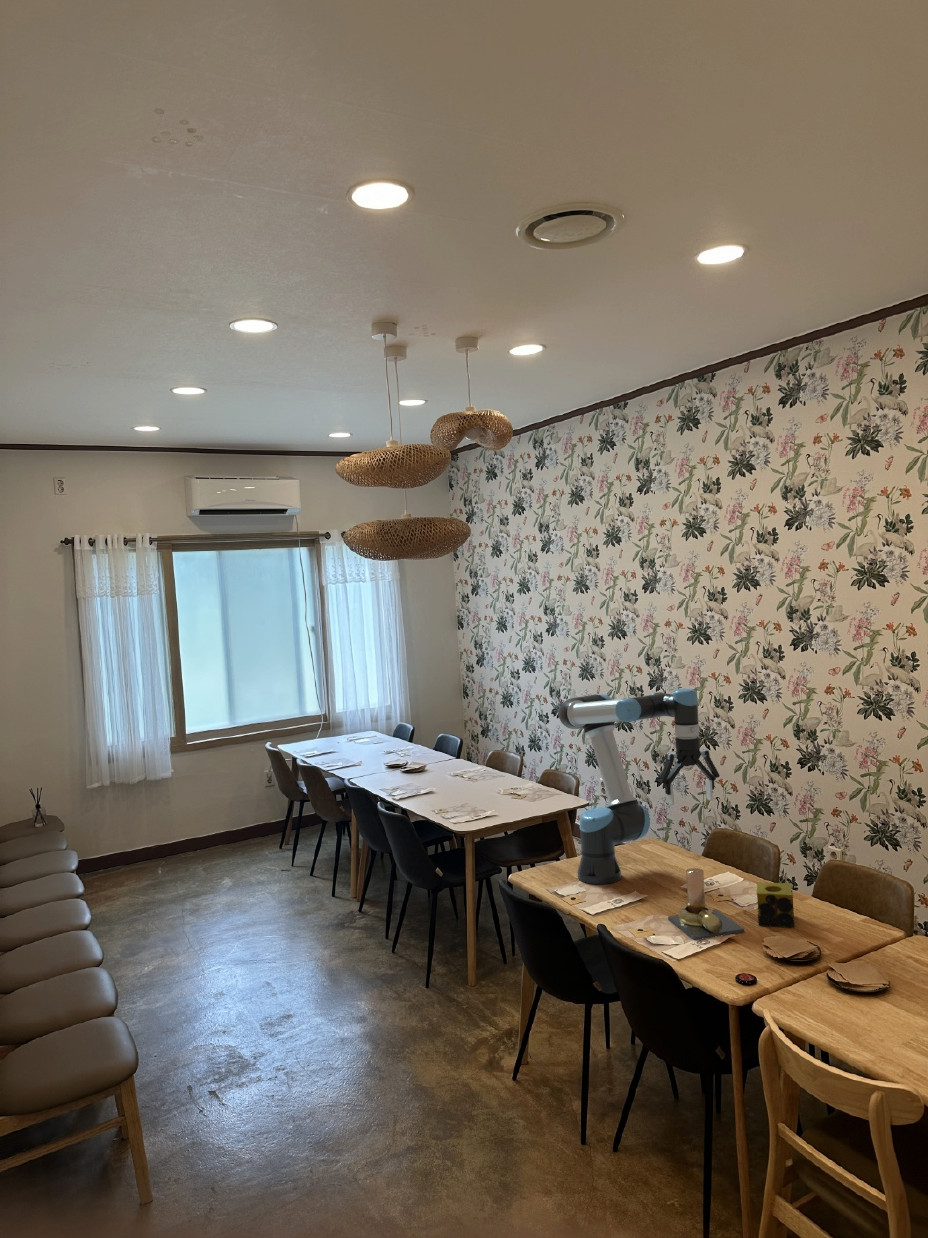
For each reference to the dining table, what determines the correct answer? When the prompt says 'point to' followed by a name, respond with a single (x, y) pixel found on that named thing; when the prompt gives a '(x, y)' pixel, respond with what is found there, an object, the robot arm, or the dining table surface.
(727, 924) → the fitting base
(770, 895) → the olive cube piece
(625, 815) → the robot arm
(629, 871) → the dining table surface
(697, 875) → the pipe stub
